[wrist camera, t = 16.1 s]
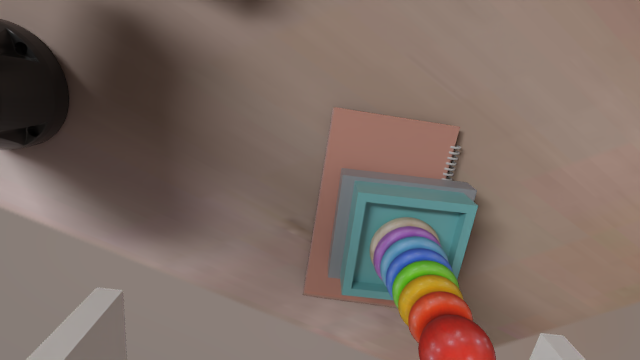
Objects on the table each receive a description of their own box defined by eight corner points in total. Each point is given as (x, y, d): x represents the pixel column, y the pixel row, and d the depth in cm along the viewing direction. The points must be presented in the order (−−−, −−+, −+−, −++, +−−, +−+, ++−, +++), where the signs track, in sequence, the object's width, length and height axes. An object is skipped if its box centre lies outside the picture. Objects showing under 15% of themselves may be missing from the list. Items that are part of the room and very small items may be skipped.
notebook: (413, 302, 52) (416, 311, 50) (303, 287, 51) (302, 296, 49) (463, 126, 43) (469, 128, 41) (332, 105, 43) (333, 107, 41)
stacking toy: (443, 264, 40) (538, 418, 23) (378, 282, 41) (421, 444, 23) (428, 205, 38) (521, 325, 20) (360, 226, 39) (391, 358, 21)
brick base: (327, 264, 47) (328, 297, 40) (341, 167, 43) (344, 186, 36) (441, 277, 47) (461, 311, 41) (466, 182, 43) (493, 203, 36)
